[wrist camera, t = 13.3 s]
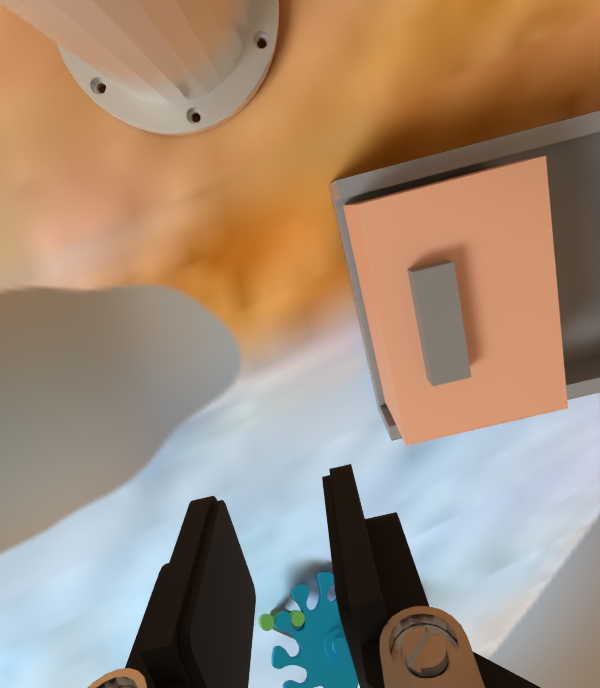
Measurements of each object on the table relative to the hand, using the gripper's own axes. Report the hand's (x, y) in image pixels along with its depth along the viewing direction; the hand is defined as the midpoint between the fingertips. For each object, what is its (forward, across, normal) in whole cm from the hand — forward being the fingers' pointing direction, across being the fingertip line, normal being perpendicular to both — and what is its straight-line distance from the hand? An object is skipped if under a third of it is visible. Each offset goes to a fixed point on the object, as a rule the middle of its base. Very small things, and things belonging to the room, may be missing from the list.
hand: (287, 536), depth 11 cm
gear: (+21, +3, +24) cm, 32 cm away
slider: (+19, -9, 0) cm, 22 cm away
